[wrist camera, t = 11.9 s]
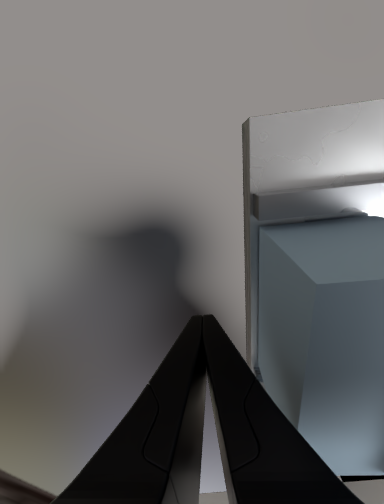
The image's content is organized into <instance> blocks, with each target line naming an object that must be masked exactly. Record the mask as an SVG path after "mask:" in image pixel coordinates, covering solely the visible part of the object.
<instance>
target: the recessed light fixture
mask: <svg viewBox="0 0 384 504" xmlns="http://www.w3.org/2000/svg"><path fill="white" fill-rule="evenodd" d="M337 477H338V478H339V479H340V480H341V481H342V479H341V477H340V476H337ZM343 483H344V484H345V485H346V486H347V487H348V488H349V489H350V490H351V491H352V492H353V493H354V494H355V495H356V496H357V497H358V498H359V499H360V500H361V501H362V502H364V503H365V504H384V479H379V480H367V481H354V482H343ZM199 504H229V501H228V495H227V492H216V493H203V494H199Z"/></svg>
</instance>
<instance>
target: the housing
mask: <svg viewBox="0 0 384 504" xmlns="http://www.w3.org/2000/svg"><path fill="white" fill-rule="evenodd" d="M258 365H259V368H260V372H261V375H262V378H263V382H264V385H265V389H266V392H267V393H268V394H269V396H270V397H271V399H272V400H273V401H274V403H275V404H276V405H277V406H278V408H279V409H280V410H281V411H282V413H283V414H284V415H285V416H286V417H287V419H288V420H289V421H290V422H291V423H292V425H293V426H294V427H295V428H296V429H297V430H298V432H299V433H300V434H301V435H302V436H303V437H304V439H305V440H306V441H307V442H308V443H309V444H310V446H311V447H312V448H313V449H314V450H315V451H316V452H317V454H318V455H319V456H320V457H321V458H322V459H323V461H324V462H325V463H326V464H327V465H328V466H329V468H330V469H331V470H332V471H333V472H334V473H335V474H336V476H354V475H384V217H380V216H376V215H373V216H363V217H353V218H343V219H333V220H323V221H313V222H303V223H292V224H282V225H272V226H262V227H260V236H259V339H258Z"/></svg>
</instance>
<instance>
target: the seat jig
mask: <svg viewBox="0 0 384 504" xmlns="http://www.w3.org/2000/svg"><path fill="white" fill-rule="evenodd" d="M242 142H243V195H244V240H245V241H244V244H245V245H244V246H245V297H246V347H247V348H246V350H247V365H248V366H249V368H250V369H251V370H252V372H253V373H254V375H255V376H256V379H258V380H259V382H260V383H261V385H262V386H263V388H264V389H265V385H264V382H263V378H262V375H261V372H260V368H259V365H258V339H259V236H260V227H262V226H272V225H282V224H292V223H303V222H313V221H323V220H333V219H343V218H353V217H363V216H373V215H376V216H380V217H384V99H379V100H371V101H364V102H357V103H349V104H342V105H336V106H328V107H320V108H313V109H306V110H299V111H291V112H284V113H277V114H270V115H262V116H255V117H249V118H248V119H247V120H246V121H245V122H244V123H243V124H242ZM265 390H266V389H265Z"/></svg>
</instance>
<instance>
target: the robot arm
mask: <svg viewBox="0 0 384 504" xmlns="http://www.w3.org/2000/svg"><path fill="white" fill-rule="evenodd" d="M207 376H208V383H209V389H210V394H211V401H212V407H213V412H214V418H215V424H216V430H217V436H218V442H219V448H220V454H221V460H222V465H223V471H224V477H225V483H226V489H227V495H228V501H229V504H365V503H364V502H362V501H361V500H360V499H359V498H358V497H357V496H356V495H355V494H354V493H353V492H352V491H351V490H350V489H349V488H348V487H347V486H346V485H345V484H344V483H343V482H342V481H341V480H340V479H339V478H338V477H337V476H336V474H335V473H334V472H333V471H332V470H331V469H330V468H329V466H328V465H327V464H326V463H325V462H324V461H323V459H322V458H321V457H320V456H319V455H318V454H317V452H316V451H315V450H314V449H313V448H312V447H311V446H310V444H309V443H308V442H307V441H306V440H305V439H304V437H303V436H302V435H301V434H300V433H299V432H298V430H297V429H296V428H295V427H294V426H293V425H292V423H291V422H290V421H289V420H288V419H287V417H286V416H285V415H284V414H283V413H282V411H281V410H280V409H279V408H278V406H277V405H276V404H275V403H274V401H273V400H272V399H271V397H270V396H269V394H268V393H267V392H266V390H265V389H264V388H263V386H262V385H261V383H260V382H259V380H258V379H256V376H255V375H254V373H253V372H252V370H251V369H250V368H249V366H248V365H247V363H246V362H245V360H244V359H243V357H242V356H241V354H240V353H239V352H238V350H237V349H236V348H235V346H234V345H233V343H232V341H231V340H230V339H229V337H228V336H227V334H226V333H225V331H224V330H223V329H222V327H221V326H220V324H219V323H218V321H217V320H216V318H215V317H214V316H213V315H204V316H201V315H196V316H192V317H191V319H190V320H189V322H188V323H187V325H186V327H185V328H184V329H183V331H182V333H181V334H180V335H179V337H178V339H177V340H176V342H175V343H174V345H173V346H172V348H171V349H170V351H169V352H168V354H167V355H166V357H165V358H164V360H163V361H162V363H161V364H160V366H159V367H158V369H157V370H156V372H155V374H154V375H153V376H152V378H151V379H150V381H149V384H147V385H146V387H145V388H144V390H143V391H142V393H141V394H140V396H139V397H138V399H137V400H136V402H135V403H134V404H133V406H132V408H131V409H130V410H129V412H128V413H127V414H126V415H125V417H124V418H123V419H122V420H121V422H120V423H119V424H118V426H117V427H116V428H115V429H114V431H113V432H112V433H111V435H110V436H109V437H108V438H107V439H106V441H105V442H104V443H103V444H102V446H101V447H100V448H99V449H98V451H97V452H96V453H95V454H94V455H93V457H92V458H91V459H90V461H89V462H88V463H87V464H86V465H85V467H84V468H83V469H82V470H81V472H80V473H79V474H78V475H77V476H76V478H75V479H74V480H73V481H72V482H71V483H70V484H69V485H68V487H67V488H66V489H65V490H64V491H63V492H62V493H61V494H60V495H59V496H58V497H56V498H55V499H54V500H53V501H52V502H51V503H50V504H199V489H200V473H201V458H202V442H203V427H204V410H205V394H206V379H207Z"/></svg>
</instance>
